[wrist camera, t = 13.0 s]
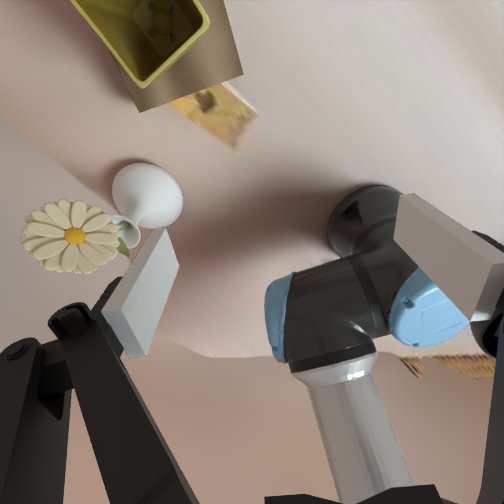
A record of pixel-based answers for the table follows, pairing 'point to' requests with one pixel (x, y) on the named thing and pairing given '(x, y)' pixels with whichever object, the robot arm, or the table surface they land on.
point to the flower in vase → (102, 221)
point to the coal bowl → (487, 333)
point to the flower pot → (146, 32)
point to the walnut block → (192, 63)
